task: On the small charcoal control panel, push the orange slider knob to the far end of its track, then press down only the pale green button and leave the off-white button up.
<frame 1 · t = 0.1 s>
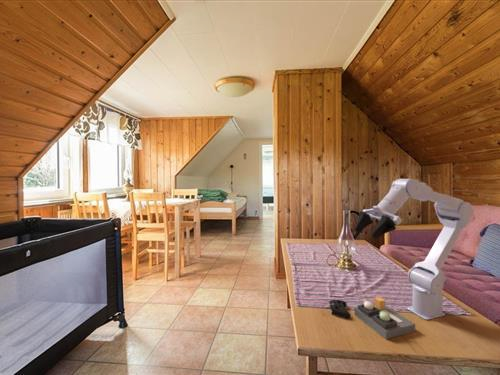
hand: (364, 234, 81), 32 cm above the table, tool tilted 50°, fingers open, 7 cm apart
green button: (384, 316, 81), point 5 cm above the table, slide at 0.0 cm
white button: (368, 305, 88), point 5 cm above the table, slide at 0.0 cm
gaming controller: (339, 312, 93), on the table
slider knob: (379, 303, 90), point 4 cm above the table, slide at 0.0 cm
control panel: (382, 322, 86), on the table
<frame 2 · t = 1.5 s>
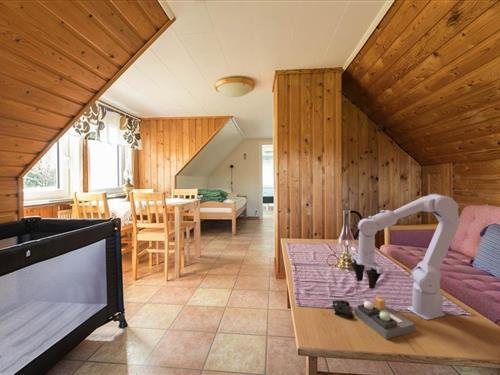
hand: (365, 284, 96), 8 cm above the table, tool pointing down, fingers open, 6 cm apart
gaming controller: (342, 312, 93), on the table
everything else where it was.
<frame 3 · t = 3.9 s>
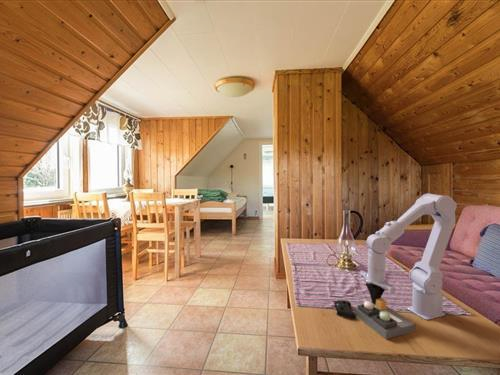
hand: (375, 303, 92), 3 cm above the table, tool pointing down, fingers closed
slider knob: (381, 304, 89), point 4 cm above the table, slide at 0.6 cm, touching gripper
everything else where it was.
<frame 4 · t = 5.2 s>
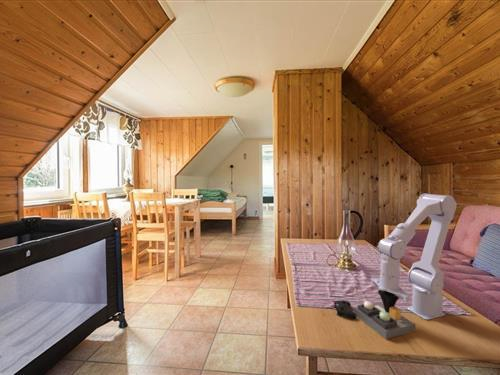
hand: (388, 311, 86), 3 cm above the table, tool pointing down, fingers closed
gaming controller: (344, 312, 93), on the table, touching control panel
slider knob: (395, 312, 84), point 4 cm above the table, slide at 6.4 cm, touching gripper
everything else where it was.
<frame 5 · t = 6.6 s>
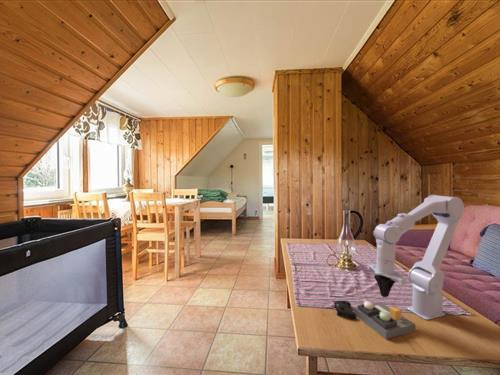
hand: (384, 295, 88), 8 cm above the table, tool pointing down, fingers closed
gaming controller: (344, 312, 93), on the table
slider knob: (395, 313, 84), point 4 cm above the table, slide at 6.5 cm
everything else where it was.
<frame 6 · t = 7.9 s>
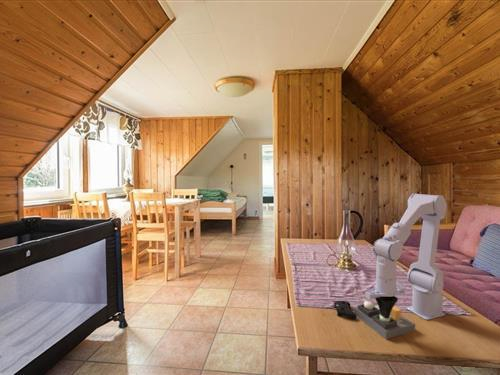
hand: (384, 316, 81), 5 cm above the table, tool pointing down, fingers closed, pressing on green button
green button: (384, 319, 81), point 4 cm above the table, slide at 0.8 cm, touching gripper
everything else where it was.
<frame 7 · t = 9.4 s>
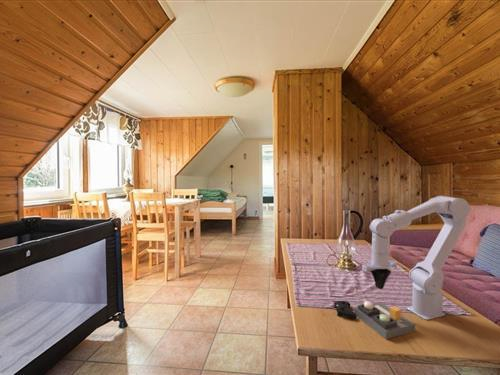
hand: (379, 287, 91), 9 cm above the table, tool pointing down, fingers closed
green button: (384, 319, 81), point 4 cm above the table, slide at 0.9 cm
everything else where it was.
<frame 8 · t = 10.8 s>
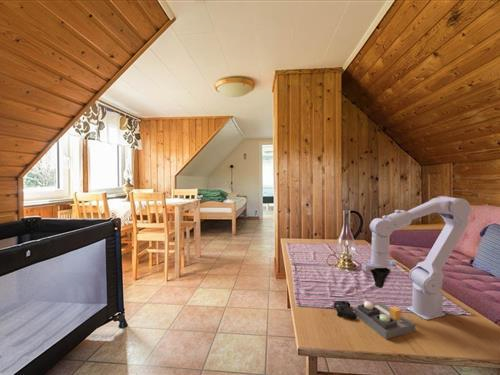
hand: (379, 286, 92), 9 cm above the table, tool pointing down, fingers closed
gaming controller: (344, 313, 92), on the table, touching control panel
everything else where it was.
at the end: slider knob slide at 6.5 cm; green button slide at 0.9 cm; white button slide at 0.0 cm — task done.
